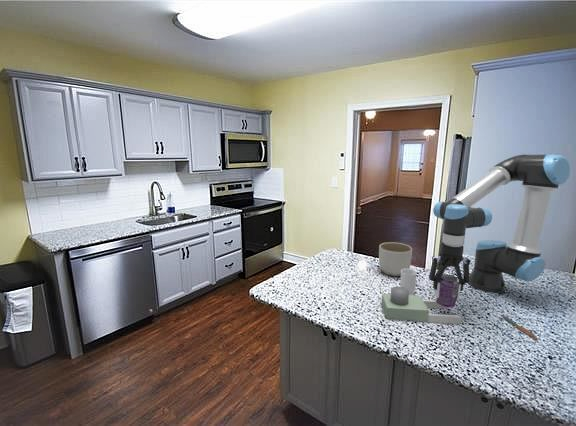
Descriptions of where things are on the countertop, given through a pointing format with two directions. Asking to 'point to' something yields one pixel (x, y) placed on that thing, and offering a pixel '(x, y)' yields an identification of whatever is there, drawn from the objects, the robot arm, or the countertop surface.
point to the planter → (394, 257)
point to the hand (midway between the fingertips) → (446, 297)
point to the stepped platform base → (413, 308)
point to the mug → (408, 280)
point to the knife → (521, 328)
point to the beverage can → (447, 290)
